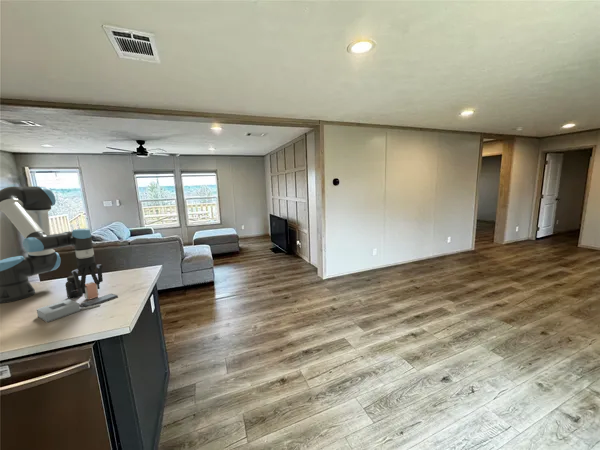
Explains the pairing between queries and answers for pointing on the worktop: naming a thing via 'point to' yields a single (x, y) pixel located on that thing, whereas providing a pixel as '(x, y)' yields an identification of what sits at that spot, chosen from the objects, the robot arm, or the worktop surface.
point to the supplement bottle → (72, 288)
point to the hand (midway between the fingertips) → (91, 296)
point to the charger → (91, 290)
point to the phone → (99, 300)
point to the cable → (90, 307)
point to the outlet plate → (58, 310)
